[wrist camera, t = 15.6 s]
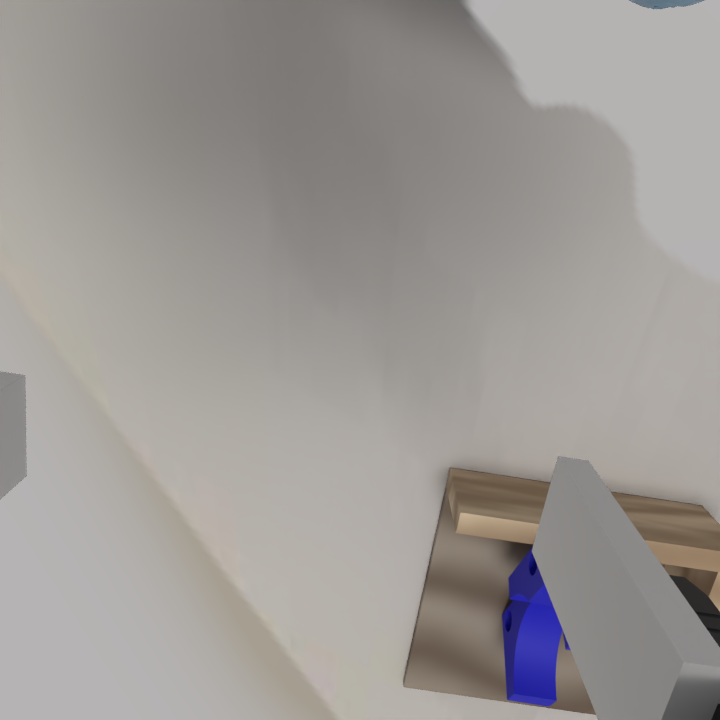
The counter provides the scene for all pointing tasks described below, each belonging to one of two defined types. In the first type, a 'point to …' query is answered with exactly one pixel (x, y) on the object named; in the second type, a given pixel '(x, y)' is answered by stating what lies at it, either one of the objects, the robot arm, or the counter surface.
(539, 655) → the cable clip
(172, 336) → the counter surface
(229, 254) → the counter surface
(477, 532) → the corner board
